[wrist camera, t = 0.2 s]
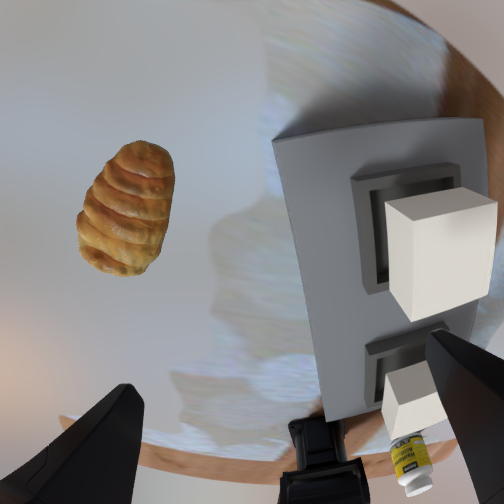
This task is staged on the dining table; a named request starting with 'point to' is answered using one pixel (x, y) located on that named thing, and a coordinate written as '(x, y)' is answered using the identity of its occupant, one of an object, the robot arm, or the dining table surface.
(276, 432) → the dining table surface
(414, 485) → the supplement bottle
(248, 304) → the dining table surface
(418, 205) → the button
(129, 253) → the pastry
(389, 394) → the button
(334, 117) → the dining table surface
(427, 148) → the panel
